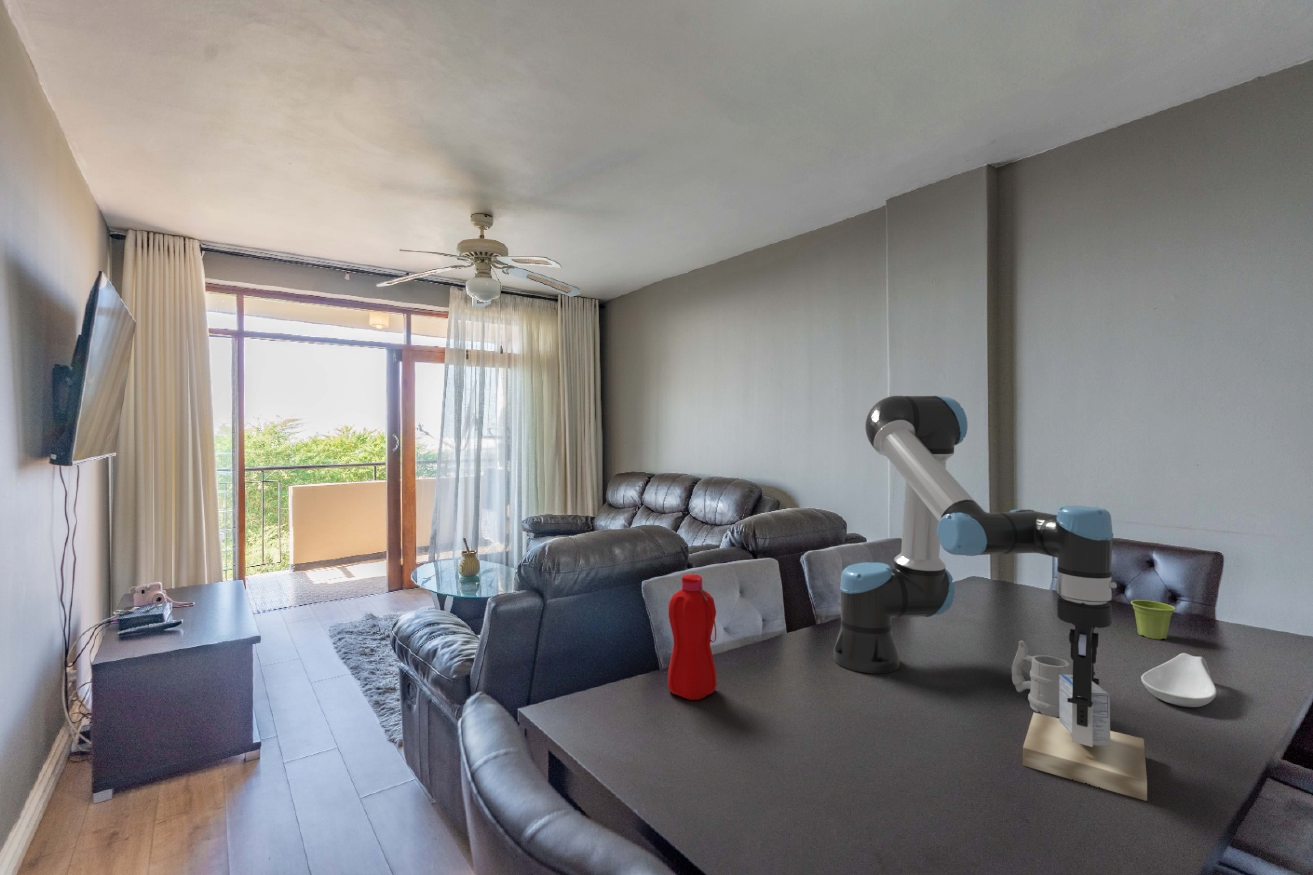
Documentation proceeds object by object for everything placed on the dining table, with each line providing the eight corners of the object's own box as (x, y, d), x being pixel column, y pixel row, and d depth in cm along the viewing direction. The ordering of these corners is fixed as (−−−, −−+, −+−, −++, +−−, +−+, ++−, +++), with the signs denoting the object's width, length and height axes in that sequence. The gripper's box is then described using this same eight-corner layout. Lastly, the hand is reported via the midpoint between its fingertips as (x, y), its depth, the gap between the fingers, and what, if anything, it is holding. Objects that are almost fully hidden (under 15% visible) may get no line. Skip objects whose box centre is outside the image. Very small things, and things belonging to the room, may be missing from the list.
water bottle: (702, 707, 121) (702, 584, 121) (661, 692, 128) (661, 575, 128) (728, 693, 127) (728, 576, 127) (689, 679, 135) (689, 568, 135)
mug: (1058, 722, 115) (1058, 659, 115) (1000, 697, 125) (1000, 640, 125) (1082, 714, 118) (1082, 653, 118) (1023, 691, 129) (1023, 635, 129)
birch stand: (1022, 765, 100) (1022, 747, 100) (1033, 728, 112) (1033, 712, 112) (1146, 801, 90) (1147, 781, 90) (1143, 756, 102) (1143, 738, 102)
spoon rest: (1210, 721, 116) (1210, 684, 116) (1134, 700, 125) (1134, 666, 125) (1231, 688, 131) (1231, 655, 131) (1162, 672, 140) (1162, 641, 140)
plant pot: (1171, 634, 165) (1171, 603, 165) (1178, 644, 157) (1178, 611, 157) (1128, 628, 170) (1128, 598, 170) (1133, 637, 163) (1133, 606, 163)
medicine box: (1111, 747, 97) (1111, 694, 97) (1080, 744, 98) (1080, 691, 98) (1086, 724, 104) (1086, 675, 104) (1058, 722, 105) (1058, 673, 105)
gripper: (1111, 618, 90) (1110, 767, 90) (1112, 589, 107) (1112, 714, 107) (1051, 609, 95) (1051, 751, 95) (1062, 582, 112) (1061, 703, 112)
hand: (1083, 731), depth 101 cm, fingers closed on medicine box, 9 cm apart
